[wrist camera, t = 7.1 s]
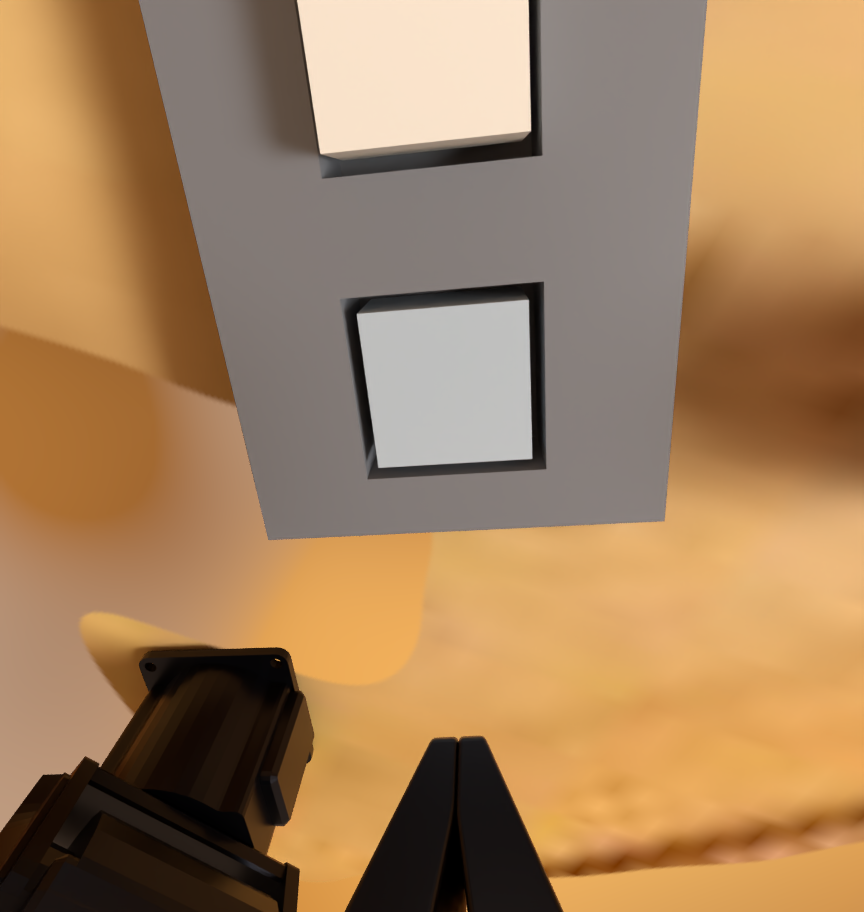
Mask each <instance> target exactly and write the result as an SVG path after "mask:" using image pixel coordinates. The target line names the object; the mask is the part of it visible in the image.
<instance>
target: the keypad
mask: <svg viewBox="0 0 864 912" xmlns="http://www.w3.org/2000/svg"><path fill="white" fill-rule="evenodd" d="M139 4H140V8H141V12H142V16H143V21H144V25H145V29H146V33H147V37H148V41H149V46H150V50H151V54H152V58H153V62H154V66H155V70H156V75H157V79H158V83H159V87H160V91H161V95H162V100H163V104H164V108H165V112H166V116H167V120H168V125H169V129H170V133H171V137H172V141H173V145H174V149H175V154H176V158H177V162H178V166H179V170H180V174H181V179H182V183H183V187H184V191H185V195H186V199H187V203H188V208H189V212H190V216H191V220H192V224H193V228H194V233H195V237H196V241H197V245H198V249H199V253H200V258H201V262H202V266H203V270H204V274H205V278H206V282H207V287H208V291H209V295H210V299H211V303H212V307H213V312H214V316H215V320H216V324H217V328H218V332H219V336H220V341H221V345H222V349H223V353H224V357H225V361H226V366H227V370H228V374H229V378H230V382H231V386H232V391H233V395H234V399H235V403H236V407H237V411H238V415H239V419H240V423H241V428H242V432H243V436H244V440H245V445H246V449H247V453H248V457H249V461H250V465H251V469H252V474H253V477H254V482H255V486H256V490H257V494H258V498H259V503H260V507H261V510H262V515H263V519H264V524H265V528H266V532H267V536H268V540H277V539H300V538H321V537H342V536H363V535H383V534H403V533H426V532H447V531H468V530H489V529H510V528H531V527H552V526H573V525H594V524H615V523H636V522H657V521H664V520H665V508H666V496H667V484H668V471H669V459H670V447H671V435H672V423H673V410H674V398H675V386H676V374H677V362H678V349H679V337H680V325H681V313H682V301H683V289H684V276H685V264H686V252H687V240H688V228H689V215H690V203H691V191H692V179H693V167H694V154H695V142H696V130H697V118H698V106H699V93H700V81H701V69H702V57H703V45H704V32H705V20H706V8H707V0H528V5H529V56H530V108H531V132H530V133H529V134H528V135H527V136H526V137H525V138H524V139H523V140H522V141H519V142H510V143H501V144H492V145H482V146H473V147H464V148H455V149H445V150H436V151H427V152H417V153H408V154H399V155H390V156H380V157H371V158H362V159H352V160H339V159H336V158H332V157H329V156H325V155H322V154H320V148H319V142H318V135H317V129H316V122H315V115H314V109H313V102H312V95H311V89H310V82H309V75H308V69H307V62H306V56H305V49H304V42H303V36H302V29H301V22H300V16H299V9H298V2H297V0H139ZM518 286H521V287H522V289H523V291H524V293H525V294H526V296H527V298H528V299H529V335H530V379H531V422H532V459H522V460H505V461H488V462H471V463H454V464H436V465H419V466H402V467H385V468H378V461H377V454H376V447H375V440H374V433H373V426H372V419H371V412H370V404H369V397H368V390H367V383H366V376H365V369H364V362H363V355H362V348H361V341H360V334H359V327H358V320H357V313H358V312H359V311H360V310H361V309H362V308H363V307H364V306H365V305H366V304H367V303H368V302H369V301H370V300H371V299H378V298H389V297H401V296H413V295H424V294H436V293H448V292H460V291H471V290H483V289H495V288H507V287H518Z"/></svg>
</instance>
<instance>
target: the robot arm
mask: <svg viewBox="0 0 864 912" xmlns="http://www.w3.org/2000/svg"><path fill="white" fill-rule="evenodd" d="M275 659H278V660H280V661H277V660H275ZM152 663H153V664H152ZM139 668H140V670H141V673H142V675H143V678H144V681H145V683H146V686H147V688H148V691H149V693H148V694H147V696H146V697H145V699H144V701H143V702H142V704H141V705H140V707H139V708H138V710H137V711H136V713H135V714H134V716H133V718H132V719H131V721H130V722H129V724H128V725H127V727H126V728H125V730H124V732H123V733H122V735H121V736H120V738H119V739H118V741H117V742H116V744H115V745H114V747H113V749H112V750H111V752H110V753H109V755H108V756H107V758H106V759H105V761H104V762H103V764H102V766H101V767H98V766H99V763H97V762H95V761H93V760H92V759H89V758H88V757H86V756H85V757H84V759H83V760H82V761H81V762H80V764H79V765H78V766H77V767H76V769H75V770H74V771H73V772H72V773H71V775H69V774H67V773H64V774H56V775H43V776H42V777H41V778H40V779H39V781H38V782H37V783H36V785H35V786H34V787H33V789H32V790H31V792H30V793H29V794H28V796H27V797H26V798H25V800H24V801H23V803H22V804H21V805H20V807H19V808H18V809H17V811H16V812H15V813H14V815H13V816H12V817H11V819H10V820H9V821H8V823H7V824H6V825H5V827H4V828H3V830H2V831H1V832H0V912H297V900H298V886H299V873H300V870H299V868H297V867H295V866H293V865H291V864H289V863H287V862H286V863H284V864H283V863H281V862H279V861H277V860H275V859H273V858H271V857H269V856H267V852H268V849H269V846H270V843H271V839H272V836H273V833H274V830H275V826H285V825H286V824H287V822H288V821H289V820H290V819H291V815H292V812H293V808H294V805H295V801H296V798H297V794H298V791H299V787H300V784H301V780H302V777H303V774H304V770H305V767H306V763H308V762H310V760H311V758H312V755H313V745H312V742H313V739H314V732H313V727H312V723H311V719H310V715H309V711H308V707H307V703H306V698H305V696H304V694H303V693H302V692H301V691H299V688H298V684H297V680H296V676H295V672H294V668H293V664H292V659H291V656H290V654H289V652H287V651H286V650H285V649H282V648H277V647H276V648H245V649H244V648H243V649H210V650H177V651H151V652H147V653H146V654H145V655H144V656H143V658H142V659H141V661H140V663H139ZM466 906H467V911H468V912H563V910H562V908H561V905H560V903H559V901H558V898H557V896H556V894H555V892H554V890H553V887H552V885H551V883H550V881H549V878H548V876H547V874H546V872H545V870H544V867H543V865H542V863H541V861H540V858H539V856H538V854H537V852H536V849H535V847H534V845H533V843H532V841H531V838H530V836H529V834H528V832H527V829H526V827H525V825H524V823H523V821H522V818H521V816H520V814H519V812H518V809H517V807H516V805H515V803H514V801H513V798H512V796H511V794H510V792H509V789H508V787H507V785H506V783H505V781H504V778H503V776H502V774H501V772H500V769H499V767H498V765H497V763H496V760H495V758H494V756H493V754H492V752H491V749H490V747H489V745H488V743H487V741H486V739H485V738H484V737H483V736H463V737H461V738H460V739H459V741H458V739H457V738H455V737H439V738H434V739H432V740H431V742H430V743H429V745H428V747H427V749H426V751H425V753H424V755H423V757H422V759H421V761H420V763H419V765H418V767H417V769H416V771H415V773H414V775H413V777H412V779H411V781H410V783H409V785H408V787H407V789H406V791H405V793H404V795H403V797H402V799H401V801H400V803H399V805H398V807H397V809H396V811H395V813H394V815H393V817H392V819H391V821H390V823H389V825H388V827H387V829H386V831H385V833H384V835H383V837H382V839H381V841H380V843H379V845H378V847H377V848H376V850H375V852H374V854H373V856H372V858H371V860H370V862H369V864H368V866H367V868H366V870H365V872H364V874H363V876H362V878H361V880H360V882H359V884H358V886H357V888H356V890H355V892H354V894H353V896H352V898H351V900H350V902H349V904H348V906H347V908H346V910H345V912H466Z"/></svg>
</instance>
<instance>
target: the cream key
mask: <svg viewBox="0 0 864 912" xmlns="http://www.w3.org/2000/svg"><path fill="white" fill-rule="evenodd" d="M297 2H298V9H299V16H300V22H301V29H302V36H303V42H304V49H305V56H306V62H307V69H308V75H309V82H310V89H311V95H312V102H313V109H314V115H315V122H316V129H317V135H318V142H319V148H320V154H322V155H325V156H329V157H332V158H336V159H339V160H352V159H362V158H371V157H380V156H390V155H399V154H408V153H417V152H427V151H436V150H445V149H455V148H464V147H473V146H482V145H492V144H501V143H510V142H519V141H522V140H523V139H524V138H525V137H526V136H527V135H528V134H529V133H530V132H531V108H530V56H529V5H528V0H297Z"/></svg>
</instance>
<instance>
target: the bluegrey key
mask: <svg viewBox="0 0 864 912" xmlns="http://www.w3.org/2000/svg"><path fill="white" fill-rule="evenodd" d="M357 320H358V327H359V334H360V341H361V348H362V355H363V362H364V369H365V376H366V383H367V390H368V397H369V404H370V412H371V419H372V426H373V433H374V440H375V447H376V454H377V461H378V468H385V467H402V466H419V465H436V464H454V463H471V462H488V461H505V460H522V459H532V422H531V379H530V335H529V299H528V298H527V296H526V294H525V293H524V291H523V289H522V287H521V286H518V287H507V288H495V289H483V290H471V291H460V292H448V293H436V294H424V295H413V296H401V297H389V298H378V299H371V300H370V301H369V302H368V303H367V304H366V305H365V306H364V307H363V308H362V309H361V310H360V311H359V312H358V313H357Z"/></svg>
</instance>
